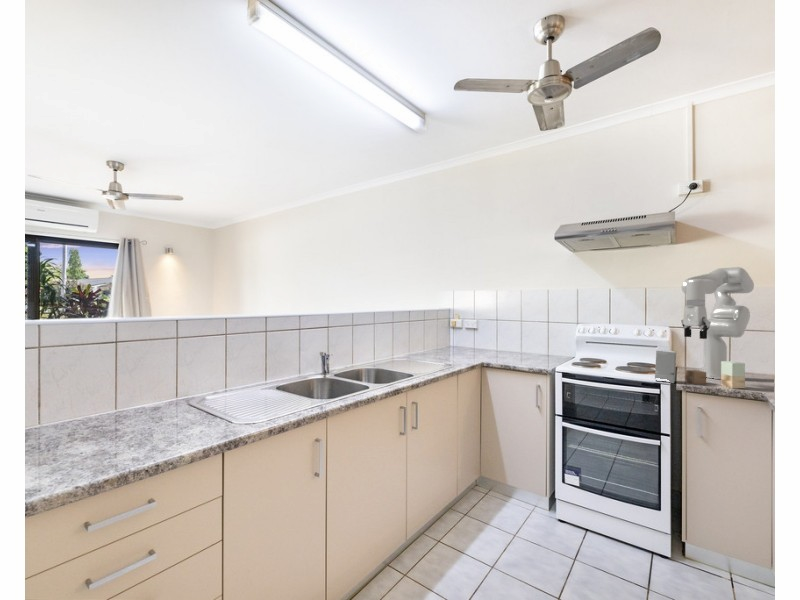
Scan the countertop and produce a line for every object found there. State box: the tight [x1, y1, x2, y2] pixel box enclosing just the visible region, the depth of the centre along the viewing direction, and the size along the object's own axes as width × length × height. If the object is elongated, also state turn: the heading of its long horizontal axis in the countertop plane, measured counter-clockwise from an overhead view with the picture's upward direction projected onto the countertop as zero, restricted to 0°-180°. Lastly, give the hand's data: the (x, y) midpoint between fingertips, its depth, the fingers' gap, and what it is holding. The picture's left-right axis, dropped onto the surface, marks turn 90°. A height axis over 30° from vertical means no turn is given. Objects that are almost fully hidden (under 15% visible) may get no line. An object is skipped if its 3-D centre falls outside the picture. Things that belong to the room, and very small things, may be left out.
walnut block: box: [684, 369, 707, 385], centre depth 189 cm, size 6×6×6 cm
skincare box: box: [654, 349, 677, 384], centre depth 192 cm, size 8×7×16 cm
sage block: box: [721, 360, 746, 377], centre depth 179 cm, size 6×6×6 cm
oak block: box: [720, 374, 746, 389], centre depth 179 cm, size 6×6×6 cm
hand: (695, 337), depth 189 cm, fingers open, 9 cm apart
